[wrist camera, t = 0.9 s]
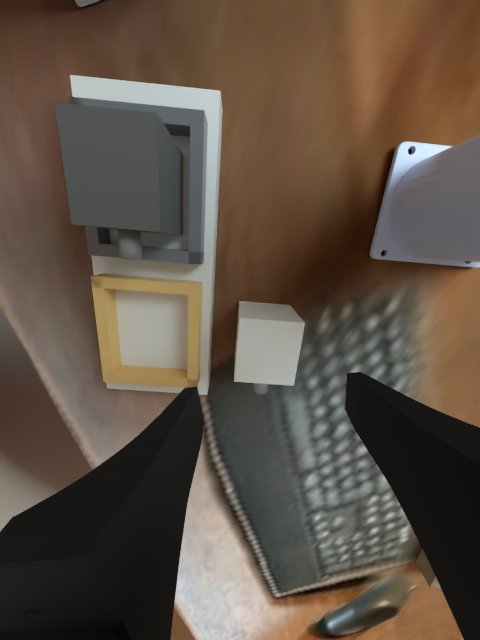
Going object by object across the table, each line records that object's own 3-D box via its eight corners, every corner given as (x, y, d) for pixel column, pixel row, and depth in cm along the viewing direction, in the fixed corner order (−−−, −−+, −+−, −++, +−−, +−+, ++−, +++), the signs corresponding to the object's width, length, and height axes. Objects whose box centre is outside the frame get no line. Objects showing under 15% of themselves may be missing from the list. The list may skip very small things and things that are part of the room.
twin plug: (183, 154, 15) (157, 113, 10) (182, 258, 17) (160, 263, 12) (113, 147, 15) (54, 102, 10) (121, 253, 17) (75, 256, 12)
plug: (289, 304, 20) (305, 322, 16) (279, 369, 22) (290, 403, 18) (239, 300, 20) (239, 318, 16) (233, 366, 22) (232, 399, 18)
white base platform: (222, 109, 16) (218, 73, 13) (209, 382, 23) (204, 406, 19) (90, 95, 16) (50, 55, 12) (118, 376, 22) (97, 399, 19)
